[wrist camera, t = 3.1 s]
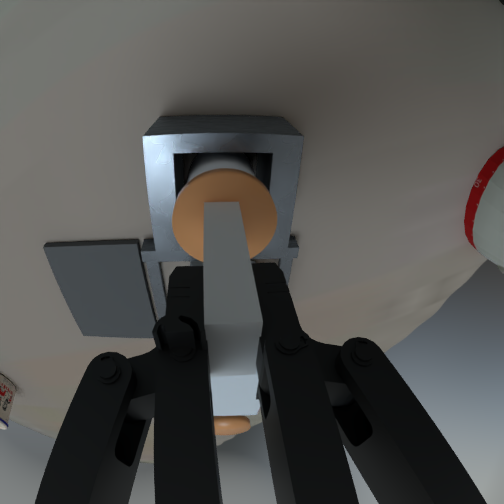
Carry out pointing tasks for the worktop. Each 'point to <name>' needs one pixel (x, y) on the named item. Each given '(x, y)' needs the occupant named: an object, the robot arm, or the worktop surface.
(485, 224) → the white red kettle
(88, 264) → the mat
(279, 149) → the housing
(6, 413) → the teacup with lid
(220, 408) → the small box
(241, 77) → the worktop surface
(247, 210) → the plunger
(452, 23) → the worktop surface
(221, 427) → the plunger
